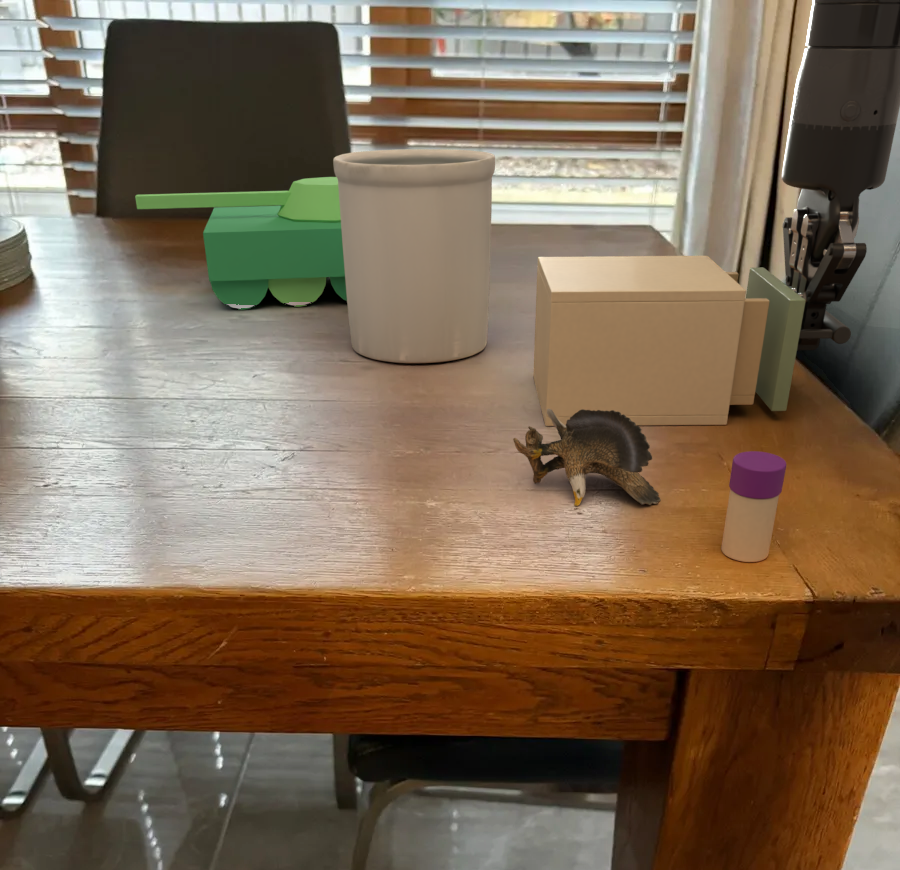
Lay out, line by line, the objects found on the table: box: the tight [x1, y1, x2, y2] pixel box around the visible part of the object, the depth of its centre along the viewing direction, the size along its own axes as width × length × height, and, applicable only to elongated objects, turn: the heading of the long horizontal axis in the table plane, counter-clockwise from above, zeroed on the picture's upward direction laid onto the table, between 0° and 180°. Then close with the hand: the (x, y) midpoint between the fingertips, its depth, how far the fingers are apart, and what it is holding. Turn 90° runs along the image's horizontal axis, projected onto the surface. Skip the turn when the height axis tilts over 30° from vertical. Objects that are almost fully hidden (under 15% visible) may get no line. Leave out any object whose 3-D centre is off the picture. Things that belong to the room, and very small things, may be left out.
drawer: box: [725, 267, 852, 412], centre depth 81 cm, size 18×11×9 cm, turn 90°
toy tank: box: [134, 176, 347, 311], centre depth 115 cm, size 18×12×35 cm
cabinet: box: [532, 255, 747, 427], centre depth 81 cm, size 15×13×11 cm
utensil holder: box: [332, 148, 496, 364], centre depth 94 cm, size 15×15×18 cm
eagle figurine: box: [512, 409, 662, 507], centre depth 66 cm, size 8×7×9 cm
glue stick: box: [720, 450, 787, 563], centre depth 58 cm, size 3×3×6 cm
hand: (802, 347), depth 82 cm, fingers closed
